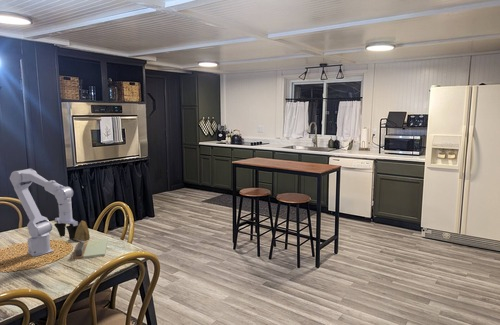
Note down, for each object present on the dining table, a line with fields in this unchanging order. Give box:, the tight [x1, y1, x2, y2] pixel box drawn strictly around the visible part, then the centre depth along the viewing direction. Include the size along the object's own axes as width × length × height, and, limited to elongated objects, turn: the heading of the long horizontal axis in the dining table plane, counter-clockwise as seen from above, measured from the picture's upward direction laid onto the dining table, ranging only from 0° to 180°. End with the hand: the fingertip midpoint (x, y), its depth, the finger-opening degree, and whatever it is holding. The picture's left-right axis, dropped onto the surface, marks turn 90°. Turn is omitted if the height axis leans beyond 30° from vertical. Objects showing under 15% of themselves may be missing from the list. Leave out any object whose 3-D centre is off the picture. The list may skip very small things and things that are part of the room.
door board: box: [71, 238, 109, 260], centre depth 181 cm, size 22×15×4 cm
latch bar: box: [75, 242, 84, 256], centre depth 175 cm, size 9×3×3 cm, turn 19°
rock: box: [73, 220, 91, 241], centre depth 197 cm, size 11×9×10 cm
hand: (67, 237), depth 173 cm, fingers open, 7 cm apart
